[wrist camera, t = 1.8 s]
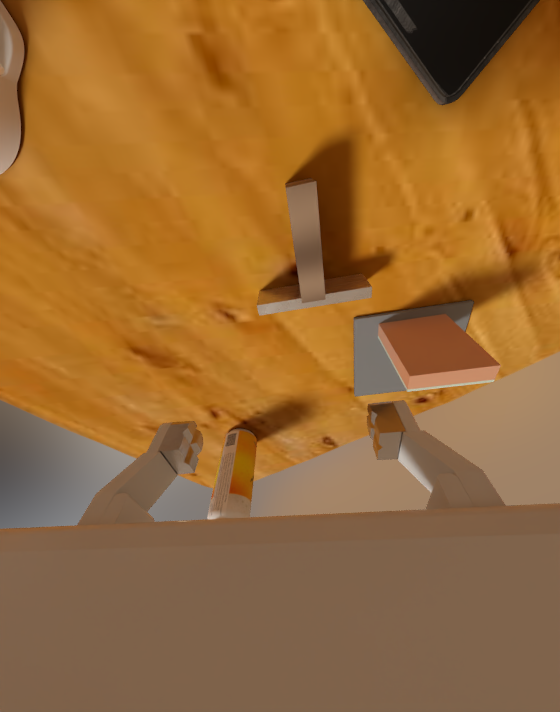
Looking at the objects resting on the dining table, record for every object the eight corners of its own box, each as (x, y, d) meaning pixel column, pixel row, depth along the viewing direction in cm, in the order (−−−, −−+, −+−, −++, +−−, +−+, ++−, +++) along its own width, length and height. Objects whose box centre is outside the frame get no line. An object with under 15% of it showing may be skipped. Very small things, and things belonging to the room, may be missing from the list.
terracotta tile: (378, 323, 32) (409, 376, 24) (445, 313, 31) (500, 365, 23) (377, 337, 33) (407, 391, 26) (442, 328, 33) (493, 381, 25)
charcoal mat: (353, 317, 32) (354, 319, 32) (471, 299, 31) (474, 301, 30) (354, 394, 41) (355, 396, 40) (447, 383, 39) (448, 385, 39)
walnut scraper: (236, 194, 24) (227, 200, 21) (363, 166, 23) (380, 167, 19) (261, 299, 31) (258, 319, 27) (362, 283, 30) (374, 301, 26)
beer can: (238, 449, 50) (224, 538, 38) (218, 433, 47) (196, 524, 35) (263, 439, 48) (257, 530, 36) (244, 422, 45) (230, 515, 33)
